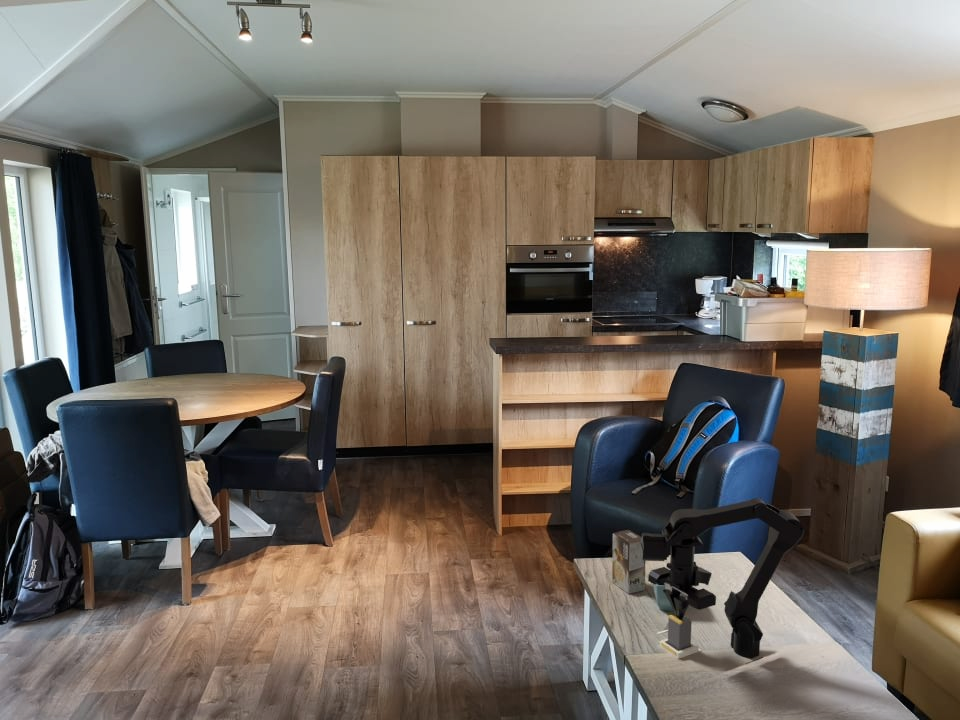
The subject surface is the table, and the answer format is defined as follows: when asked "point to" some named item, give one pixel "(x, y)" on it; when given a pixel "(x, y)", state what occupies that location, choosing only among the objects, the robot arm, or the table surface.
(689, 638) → the plug
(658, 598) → the flower pot
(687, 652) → the header board
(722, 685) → the table surface
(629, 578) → the coffee box
